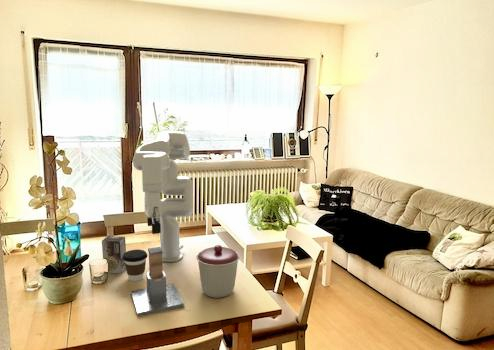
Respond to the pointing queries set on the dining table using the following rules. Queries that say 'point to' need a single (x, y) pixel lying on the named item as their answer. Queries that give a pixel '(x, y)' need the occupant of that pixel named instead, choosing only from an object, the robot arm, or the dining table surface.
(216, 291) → the canister
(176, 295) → the stand
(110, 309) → the dining table surface
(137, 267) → the coffee cup
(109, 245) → the coffee box
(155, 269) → the post
